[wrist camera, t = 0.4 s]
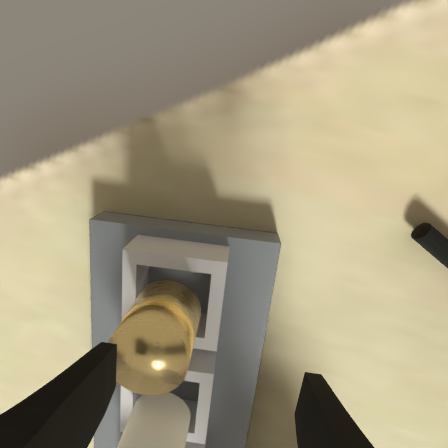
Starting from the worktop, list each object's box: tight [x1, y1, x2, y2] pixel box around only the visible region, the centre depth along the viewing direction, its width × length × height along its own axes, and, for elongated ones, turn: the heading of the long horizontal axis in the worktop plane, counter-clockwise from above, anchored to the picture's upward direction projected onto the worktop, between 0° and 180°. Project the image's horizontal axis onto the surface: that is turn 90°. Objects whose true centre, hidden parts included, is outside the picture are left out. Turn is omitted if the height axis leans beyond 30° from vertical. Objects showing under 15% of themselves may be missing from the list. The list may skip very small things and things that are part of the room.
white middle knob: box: [117, 392, 191, 448], centre depth 17 cm, size 4×4×4 cm
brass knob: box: [108, 280, 201, 395], centre depth 15 cm, size 4×4×4 cm
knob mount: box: [89, 212, 281, 448], centre depth 22 cm, size 22×12×4 cm, turn 174°
